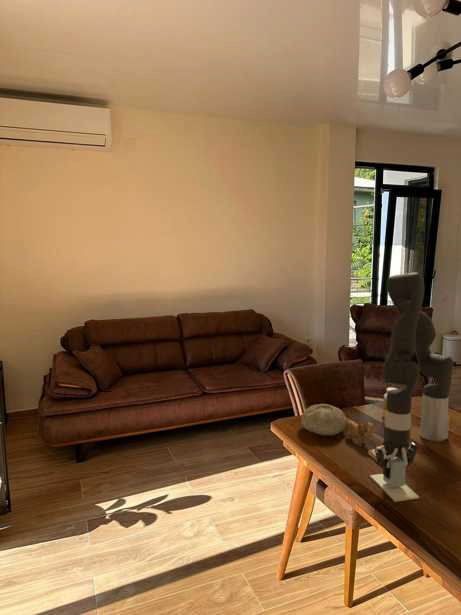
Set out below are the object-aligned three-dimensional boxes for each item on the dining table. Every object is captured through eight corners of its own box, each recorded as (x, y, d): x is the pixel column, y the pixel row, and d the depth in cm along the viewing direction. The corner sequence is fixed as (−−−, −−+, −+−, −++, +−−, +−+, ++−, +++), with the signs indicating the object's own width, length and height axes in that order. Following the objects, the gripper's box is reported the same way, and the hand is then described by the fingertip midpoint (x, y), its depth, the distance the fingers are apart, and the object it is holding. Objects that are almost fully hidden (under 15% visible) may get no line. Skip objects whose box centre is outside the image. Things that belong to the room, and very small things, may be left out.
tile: (391, 474, 142) (392, 472, 142) (419, 498, 129) (419, 496, 129) (370, 476, 141) (370, 475, 141) (395, 501, 127) (395, 499, 127)
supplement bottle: (379, 414, 192) (381, 387, 191) (393, 413, 194) (395, 386, 192) (387, 420, 186) (389, 392, 184) (401, 419, 187) (403, 391, 185)
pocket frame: (394, 450, 159) (394, 447, 158) (409, 462, 150) (409, 458, 150) (368, 453, 156) (368, 449, 156) (382, 466, 148) (382, 461, 148)
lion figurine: (376, 445, 163) (378, 423, 161) (368, 449, 160) (369, 426, 158) (345, 432, 174) (346, 411, 173) (336, 435, 171) (337, 414, 170)
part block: (396, 477, 137) (397, 454, 136) (404, 485, 133) (406, 461, 132) (383, 479, 136) (384, 455, 135) (391, 487, 132) (392, 462, 131)
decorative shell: (324, 445, 163) (325, 419, 162) (291, 428, 178) (292, 405, 176) (354, 433, 174) (355, 409, 172) (321, 418, 188) (322, 396, 187)
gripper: (410, 417, 137) (407, 468, 140) (369, 421, 134) (367, 472, 136) (425, 427, 130) (422, 480, 132) (383, 431, 127) (380, 485, 129)
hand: (394, 476), depth 134 cm, fingers closed on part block, 4 cm apart
